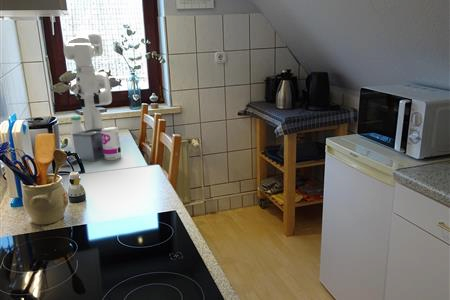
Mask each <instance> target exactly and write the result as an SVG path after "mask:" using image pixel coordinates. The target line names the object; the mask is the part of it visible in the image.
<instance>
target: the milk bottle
mask: <svg viewBox="0 0 450 300" xmlns="http://www.w3.org/2000/svg"><path fill="white" fill-rule="evenodd" d="M81 117H82V116H81V115H75V116H71V117H70V121H71V123H72V124H71V128H70V139H71V140H70V141H71V145H72V146H71V147H72V153H73V152H75V147H74V140H73V134H74V133H78V132H82V131H86V128H85V126H83V124H82V118H81Z"/></svg>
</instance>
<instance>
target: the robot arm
mask: <svg viewBox="0 0 450 300" xmlns="http://www.w3.org/2000/svg"><path fill="white" fill-rule="evenodd" d="M103 48H104V47H103V40H102V36H101V34H100V32H98V30H80V31H77V32H76V33H74V34H73V38H70V39H68V40H66V41H65V42H64V43H63V55H64V57H65V58H66V59H67V60H69V61H70V60H71V61H72V60H73V61H74V63H75V72H76V76H75V81H76V87H75V88H74V89H73V90H72V92H73V95H74V96H75V97H76V99H77V100H78V104H79V106H78V107H79V108H81V109H82V114H83V121H84V128H85V131H86V130H89V129H93V128H104V126H103V119H102V113H101V111H100V110H99V109H98V108H97V106H107V105H110V104H112V102H113V97H112V91H111V84H110V78H109V75H108V73H107V72H105V71H95V67H94V65H93V62H92V61H93V60H92V58H93V57H100V56H102V55H103V52H104V49H103Z"/></svg>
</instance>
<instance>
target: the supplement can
mask: <svg viewBox="0 0 450 300" xmlns="http://www.w3.org/2000/svg"><path fill="white" fill-rule="evenodd" d="M119 132H120V131H119V129H118V127H117V126H110V127H107V126H106V127H103V129H102V131H101V137H102V144H103V151H104V158H103V159H105V160H106V161H113V160H114V161H115V160H119V159H120V158H121V157H122V156H123V155H122V149H121V148H122V147H121V141H120V133H119Z"/></svg>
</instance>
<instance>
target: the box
mask: <svg viewBox="0 0 450 300" xmlns="http://www.w3.org/2000/svg"><path fill="white" fill-rule="evenodd" d="M103 128H104V127H103ZM103 128H93V129H89V130H86V129H85V131H82V132H78V133H74V134H73V140H74V147H75V153H77V154H78V155H79V157H80V159H81V160H80V161H88V162H96V161H99V160H101V159H105V158H104V151H103V144H102V137H101V131H102V129H103ZM91 131H98V132H96V133H87V132H91Z"/></svg>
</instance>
